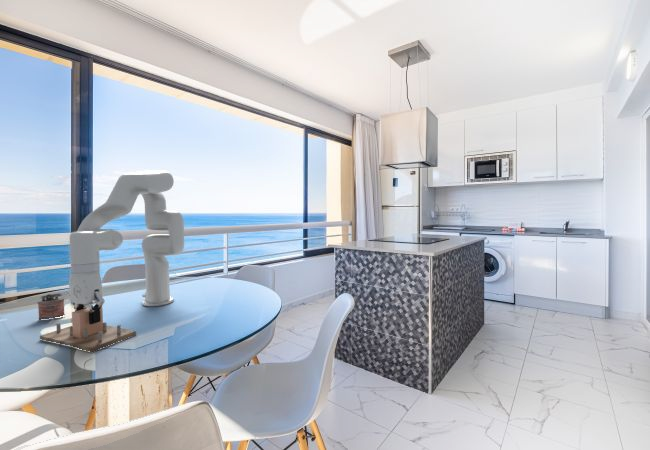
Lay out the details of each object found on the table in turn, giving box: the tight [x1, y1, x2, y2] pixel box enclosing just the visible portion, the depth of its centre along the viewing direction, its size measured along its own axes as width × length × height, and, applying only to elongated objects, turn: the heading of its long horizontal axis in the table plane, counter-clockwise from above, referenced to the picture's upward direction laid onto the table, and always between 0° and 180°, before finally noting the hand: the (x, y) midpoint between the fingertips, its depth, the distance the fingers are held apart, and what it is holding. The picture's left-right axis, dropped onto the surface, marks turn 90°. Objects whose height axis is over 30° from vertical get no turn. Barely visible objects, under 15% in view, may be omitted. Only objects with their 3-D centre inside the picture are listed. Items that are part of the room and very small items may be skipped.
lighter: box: [37, 292, 66, 320], centre depth 121 cm, size 8×3×10 cm, turn 117°
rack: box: [39, 321, 137, 353], centre depth 102 cm, size 26×14×4 cm, turn 69°
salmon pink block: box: [71, 305, 104, 338], centre depth 102 cm, size 4×7×8 cm, turn 158°
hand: (88, 321), depth 102 cm, fingers open, 6 cm apart
